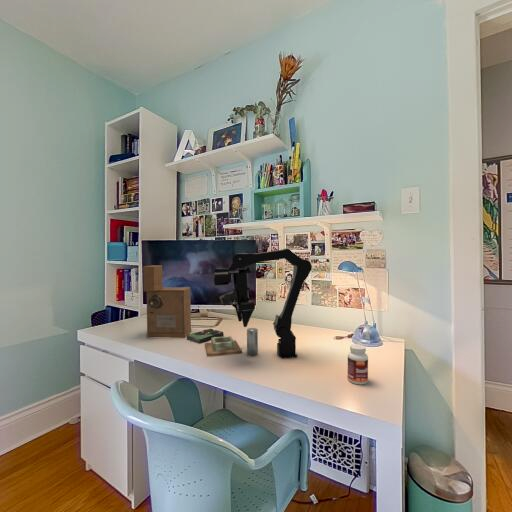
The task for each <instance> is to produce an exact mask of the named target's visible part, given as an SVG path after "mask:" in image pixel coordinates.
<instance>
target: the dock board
mask: <svg viewBox="0 0 512 512" xmlns="http://www.w3.org/2000/svg"><path fill="white" fill-rule="evenodd" d="M204 348H205V352H206V356H207V357H208V356H209V357H217V356H218V357H219V356H226V355H239V354H242V353H243V350H242V349H241V347H240V345H239V344H238V342H237V340H236V339H235V340H234V338H233V337H232V336H231V335H223V337H213V338H211V341H210V342H204ZM209 357H208V358H209Z"/></svg>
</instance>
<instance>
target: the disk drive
mask: <svg viewBox="0 0 512 512" xmlns="http://www.w3.org/2000/svg"><path fill="white" fill-rule="evenodd" d="M224 336H225V335H224V331H220V330H217V329H215V330H214V329H213V328H208V329H204V330H200V331H197V332H194V333H190V334H189V335H187V337H186V340H187V341H189V340H190V342H193V343H195V344H199V345H200V344H205V343H208V342H211V338H213V337H224Z"/></svg>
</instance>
